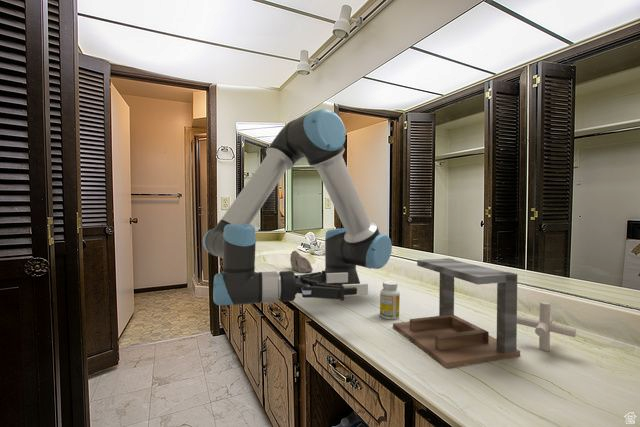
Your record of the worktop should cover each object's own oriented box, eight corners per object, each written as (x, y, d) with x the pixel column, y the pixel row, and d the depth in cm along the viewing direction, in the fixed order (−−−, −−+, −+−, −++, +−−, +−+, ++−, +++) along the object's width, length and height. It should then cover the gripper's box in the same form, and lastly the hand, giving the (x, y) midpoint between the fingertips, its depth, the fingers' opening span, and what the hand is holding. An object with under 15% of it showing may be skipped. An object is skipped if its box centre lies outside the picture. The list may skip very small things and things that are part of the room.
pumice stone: (314, 273, 138) (314, 252, 138) (299, 274, 135) (299, 253, 135) (301, 267, 152) (301, 248, 151) (288, 268, 148) (288, 249, 148)
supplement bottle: (385, 320, 78) (385, 285, 78) (376, 313, 84) (376, 280, 84) (403, 319, 80) (403, 284, 80) (393, 312, 85) (393, 279, 85)
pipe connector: (511, 348, 63) (512, 302, 63) (521, 334, 70) (522, 293, 70) (572, 366, 56) (573, 314, 56) (577, 349, 63) (577, 303, 63)
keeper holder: (392, 327, 74) (393, 261, 74) (451, 320, 79) (452, 258, 79) (446, 368, 55) (447, 279, 55) (520, 355, 60) (521, 273, 60)
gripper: (272, 288, 85) (340, 285, 91) (286, 319, 61) (377, 311, 67) (273, 263, 85) (341, 261, 91) (286, 283, 61) (378, 279, 67)
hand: (356, 282), depth 79 cm, fingers open, 13 cm apart
